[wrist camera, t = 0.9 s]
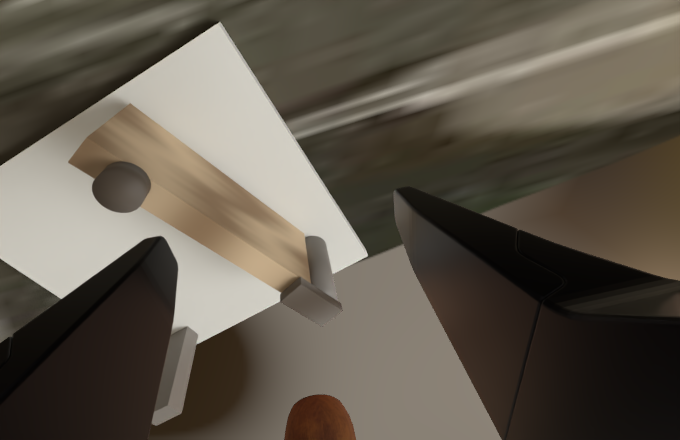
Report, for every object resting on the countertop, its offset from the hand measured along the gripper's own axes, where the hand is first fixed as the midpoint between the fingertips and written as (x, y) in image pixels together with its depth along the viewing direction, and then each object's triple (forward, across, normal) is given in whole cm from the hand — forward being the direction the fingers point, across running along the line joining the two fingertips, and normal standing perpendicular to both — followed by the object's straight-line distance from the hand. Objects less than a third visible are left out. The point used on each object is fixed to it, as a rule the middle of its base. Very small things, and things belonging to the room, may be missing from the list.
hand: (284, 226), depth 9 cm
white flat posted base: (+13, +8, +7) cm, 17 cm away
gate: (+12, +4, +5) cm, 13 cm away
